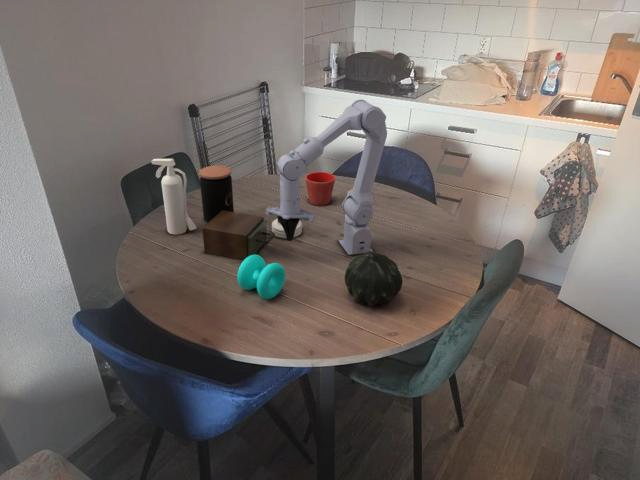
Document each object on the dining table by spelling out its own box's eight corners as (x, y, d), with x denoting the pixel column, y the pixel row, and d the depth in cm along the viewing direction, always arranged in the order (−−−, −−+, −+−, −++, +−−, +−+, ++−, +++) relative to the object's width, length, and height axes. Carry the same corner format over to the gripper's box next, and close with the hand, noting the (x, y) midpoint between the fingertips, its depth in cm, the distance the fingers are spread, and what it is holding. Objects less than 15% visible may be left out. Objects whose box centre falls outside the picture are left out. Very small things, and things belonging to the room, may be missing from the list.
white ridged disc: (267, 236, 163) (267, 227, 162) (277, 223, 172) (276, 214, 170) (297, 240, 161) (297, 231, 159) (305, 227, 169) (305, 218, 167)
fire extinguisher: (192, 237, 163) (183, 164, 150) (159, 233, 166) (147, 161, 153) (200, 228, 169) (192, 157, 156) (168, 224, 172) (158, 154, 158)
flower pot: (324, 209, 181) (325, 184, 176) (299, 202, 187) (299, 177, 182) (339, 200, 188) (340, 175, 183) (315, 193, 194) (316, 169, 189)
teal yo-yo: (260, 278, 142) (259, 247, 137) (287, 290, 137) (287, 259, 131) (236, 293, 136) (234, 262, 130) (263, 307, 130) (262, 274, 125)
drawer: (279, 241, 159) (278, 222, 155) (264, 260, 149) (263, 240, 145) (229, 233, 164) (228, 214, 160) (211, 250, 154) (210, 231, 150)
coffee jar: (232, 226, 170) (229, 176, 160) (201, 226, 170) (196, 176, 161) (235, 213, 179) (232, 165, 169) (206, 213, 179) (201, 165, 170)
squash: (390, 259, 140) (363, 230, 130) (421, 288, 128) (393, 259, 119) (354, 294, 142) (324, 268, 132) (381, 326, 130) (350, 300, 121)
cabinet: (264, 240, 161) (263, 216, 157) (247, 260, 150) (246, 235, 146) (224, 233, 166) (222, 210, 161) (204, 252, 155) (202, 228, 150)
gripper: (261, 199, 141) (262, 241, 148) (309, 206, 137) (309, 249, 144) (270, 190, 147) (271, 231, 154) (317, 196, 142) (316, 238, 149)
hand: (290, 239), depth 149 cm, fingers closed
